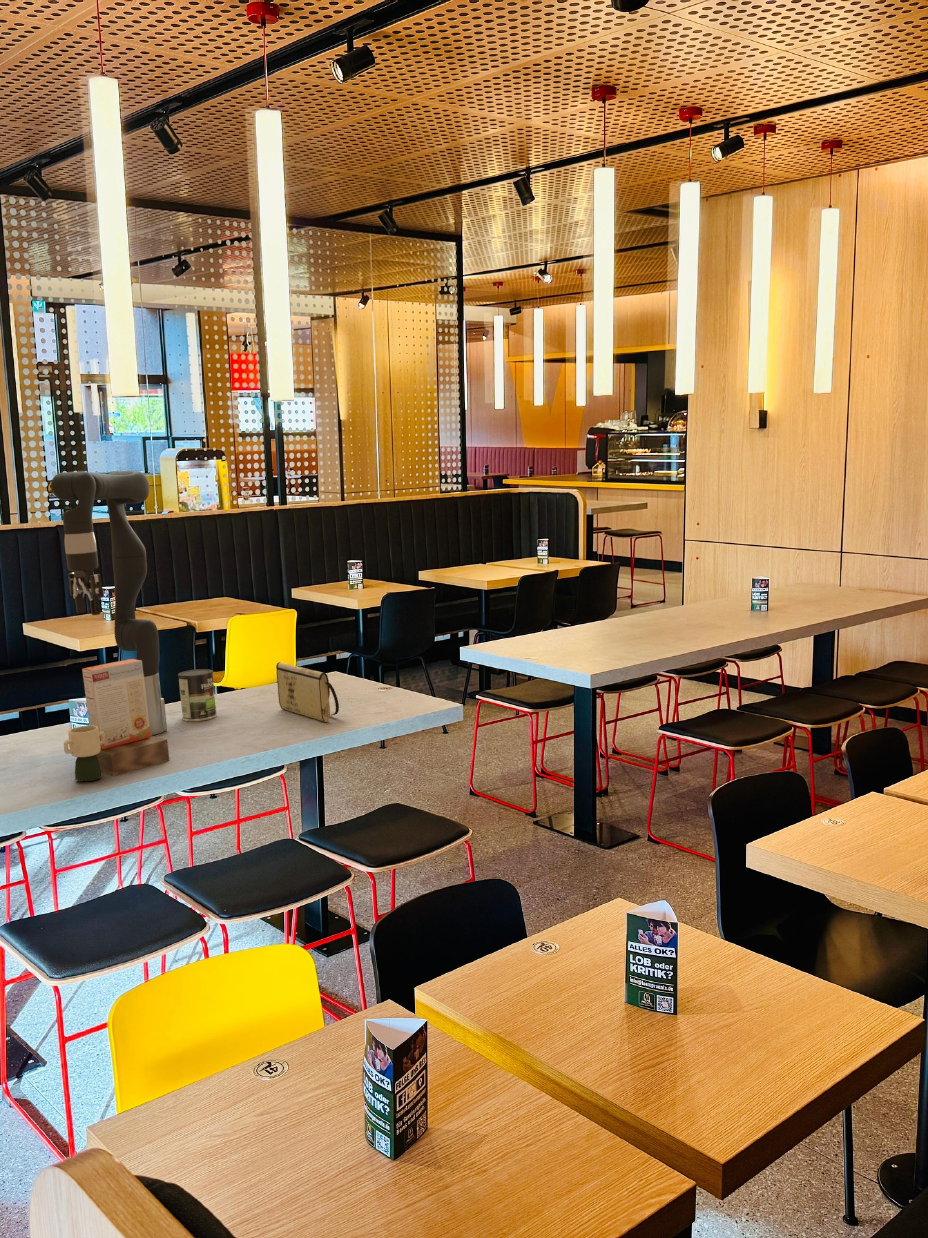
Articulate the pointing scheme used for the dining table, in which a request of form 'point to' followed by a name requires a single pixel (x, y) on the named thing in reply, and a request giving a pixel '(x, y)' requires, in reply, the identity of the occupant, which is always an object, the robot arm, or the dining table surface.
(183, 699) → the coffee can
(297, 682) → the clutch purse
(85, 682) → the cracker box
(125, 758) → the walnut block
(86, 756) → the character mug
